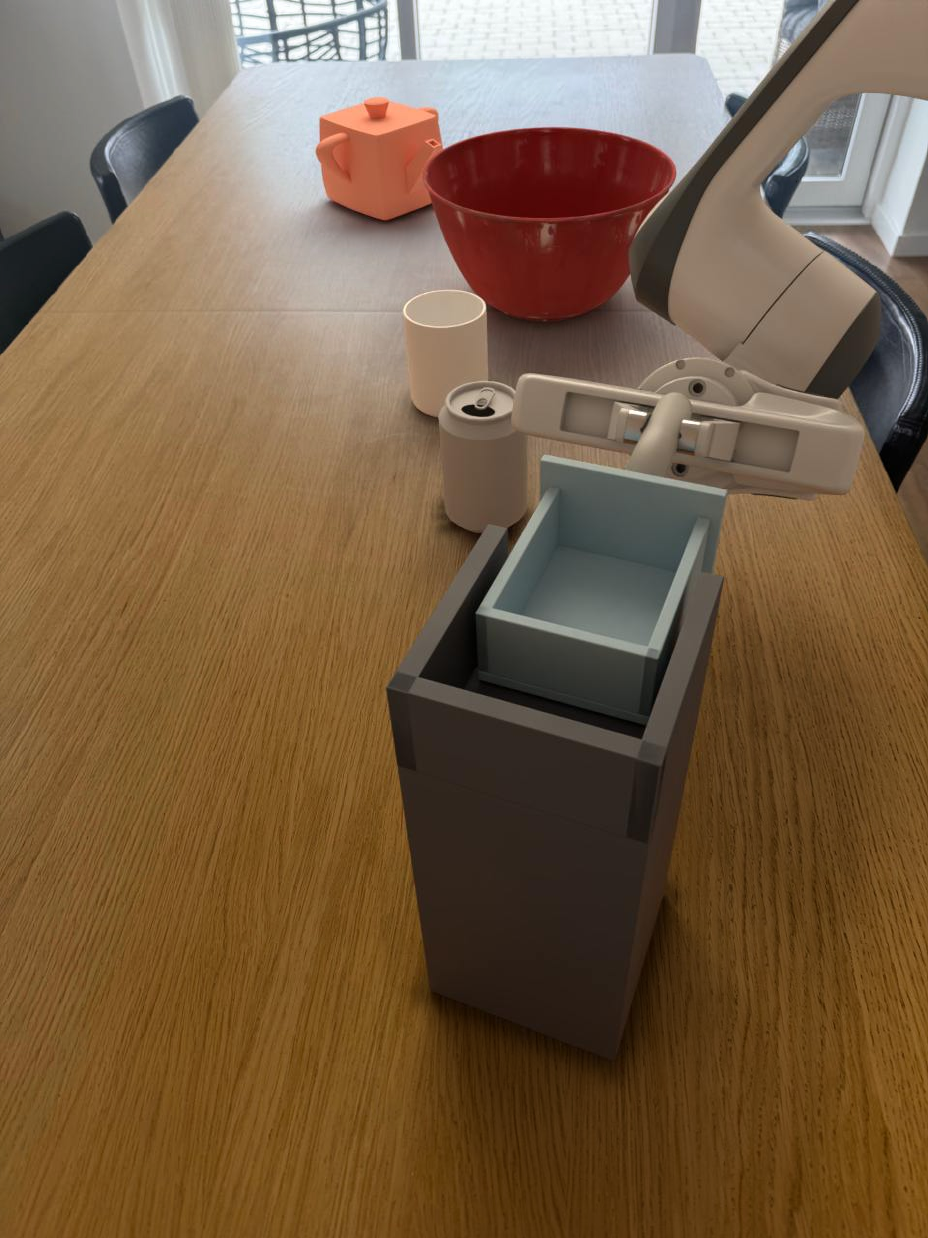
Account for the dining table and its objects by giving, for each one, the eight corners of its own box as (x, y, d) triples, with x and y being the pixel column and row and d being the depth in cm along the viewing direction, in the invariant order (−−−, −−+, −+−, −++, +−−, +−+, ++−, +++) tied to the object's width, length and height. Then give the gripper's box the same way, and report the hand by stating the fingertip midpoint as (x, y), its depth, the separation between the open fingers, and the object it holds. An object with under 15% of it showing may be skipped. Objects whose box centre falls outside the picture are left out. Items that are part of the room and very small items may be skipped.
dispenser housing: (664, 893, 60) (724, 575, 42) (614, 1062, 52) (661, 766, 34) (498, 838, 63) (487, 523, 45) (429, 991, 56) (385, 687, 38)
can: (432, 529, 87) (422, 413, 78) (463, 482, 92) (457, 368, 83) (511, 546, 85) (509, 428, 76) (538, 497, 90) (539, 382, 81)
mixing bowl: (707, 284, 120) (724, 152, 109) (572, 379, 105) (577, 237, 94) (526, 232, 134) (526, 111, 123) (384, 310, 118) (370, 179, 108)
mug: (440, 358, 109) (434, 270, 102) (509, 368, 107) (508, 278, 100) (399, 413, 101) (389, 321, 94) (473, 425, 99) (469, 332, 92)
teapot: (296, 209, 143) (280, 107, 134) (409, 169, 154) (401, 71, 144) (381, 246, 132) (370, 137, 123) (496, 200, 143) (494, 96, 133)
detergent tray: (749, 471, 55) (766, 384, 51) (660, 730, 42) (674, 638, 38) (596, 443, 58) (602, 358, 54) (467, 677, 44) (462, 586, 41)
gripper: (553, 354, 66) (487, 342, 53) (868, 404, 60) (878, 404, 47) (537, 446, 68) (469, 456, 55) (842, 504, 61) (844, 530, 49)
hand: (661, 432), depth 51 cm, fingers closed on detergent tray, 2 cm apart
